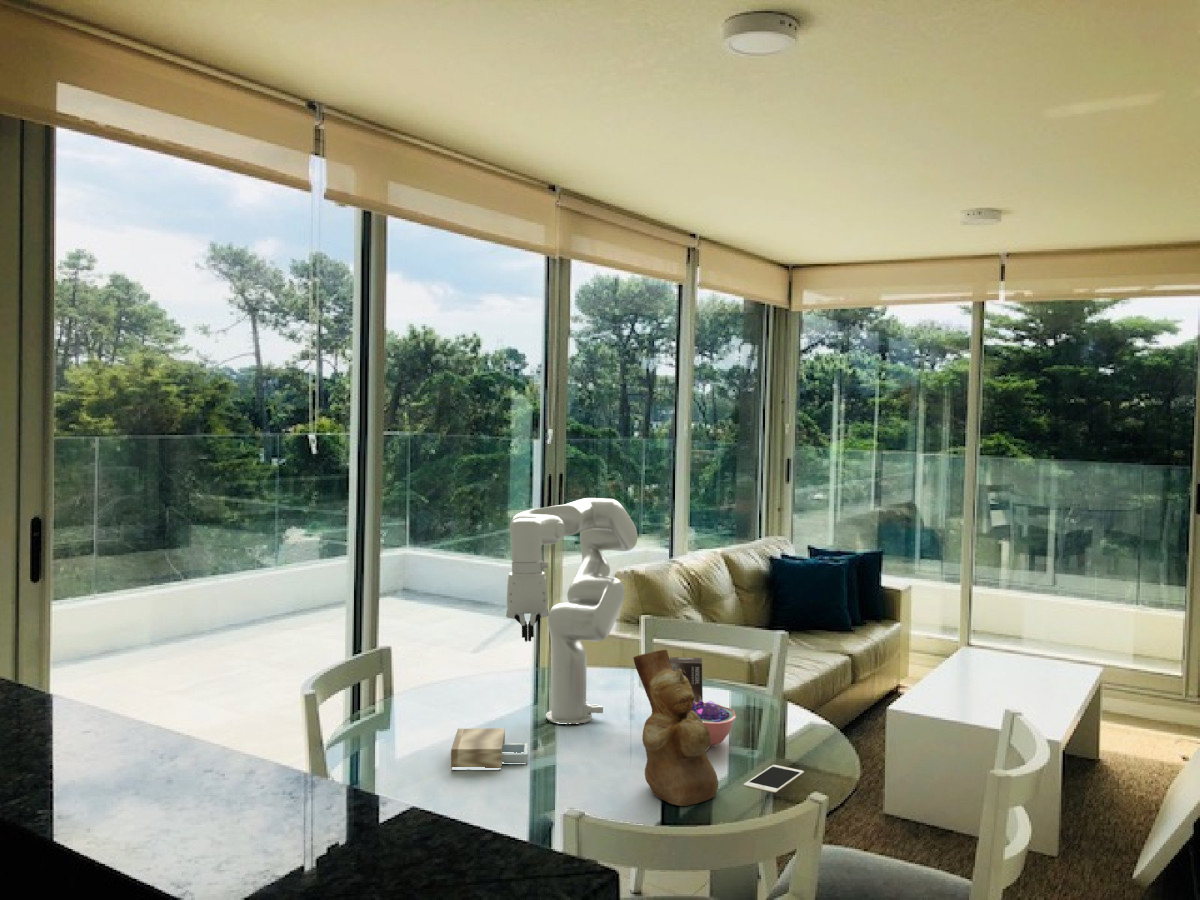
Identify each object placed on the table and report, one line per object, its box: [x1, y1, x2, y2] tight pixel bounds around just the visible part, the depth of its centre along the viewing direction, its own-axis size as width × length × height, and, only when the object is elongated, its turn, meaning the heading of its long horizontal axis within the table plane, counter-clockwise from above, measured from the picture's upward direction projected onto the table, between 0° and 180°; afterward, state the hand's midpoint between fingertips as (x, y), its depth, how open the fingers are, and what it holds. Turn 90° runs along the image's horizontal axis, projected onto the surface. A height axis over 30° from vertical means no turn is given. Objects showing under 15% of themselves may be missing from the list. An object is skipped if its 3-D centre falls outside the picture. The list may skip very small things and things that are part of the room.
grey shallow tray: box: [502, 742, 529, 764], centre depth 234 cm, size 14×8×2 cm, turn 93°
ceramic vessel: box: [632, 648, 719, 807], centre depth 214 cm, size 16×22×30 cm
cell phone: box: [743, 764, 805, 794], centre depth 222 cm, size 8×16×1 cm, turn 146°
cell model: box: [691, 700, 737, 748], centre depth 246 cm, size 17×20×11 cm
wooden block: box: [450, 727, 506, 768], centre depth 234 cm, size 12×16×5 cm
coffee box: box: [669, 656, 704, 703], centre depth 268 cm, size 9×6×16 cm
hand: (527, 640), depth 246 cm, fingers closed
